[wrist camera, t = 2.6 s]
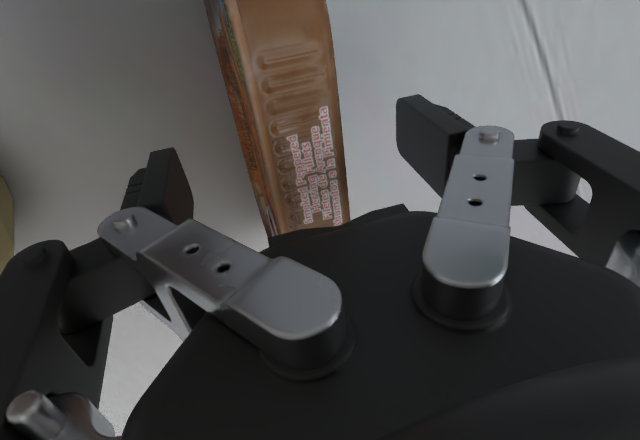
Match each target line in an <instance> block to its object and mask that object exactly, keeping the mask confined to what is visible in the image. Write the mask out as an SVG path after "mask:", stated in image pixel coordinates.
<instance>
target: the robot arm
mask: <svg viewBox="0 0 640 440" xmlns="http://www.w3.org/2000/svg"><path fill="white" fill-rule="evenodd" d="M396 141H397V147H398V150H399V153H400V154H401V156H402V157H403V158H404V159H405V160H406V161H407V162H408V163H409V164H410V165H411V166H412V167H413V168H414V170H415V171H416V172H417V173H418V174H419V175H420V176H421V177H422V178H423V179H424V180H425V181H426V182H427V183H428V184H429V185H430V186H431V187H432V189H433V190H434V191H435V192H436V193H437V194H438V195H439V196H440V197H441V198H442V200H441V203H440V207H439V210H438V213H434V212H425V211H410V212H409V211H408V209H407V208H406V207H405V205H404V204H399V205H395V206H391V207H387V208H383V209H379V210H375V211H371V212H369V213H367V214H364V215H362V216H360V217H358V218H356V219H353V220H351V221H349V222H347V223H344V224H342V225H339V226H331V227H319V228H308V229H300V230H296V231H292V232H288V233H284V234H280V235H276V236H272V237H268V243H269V248H267V249H265V250H263V251H261V252H257V251H255V250H253V249H251V248H249V247H247V246H245V245H243V244H241V243H239V242H237V241H235V240H233V239H231V238H229V237H227V236H225V235H223V234H221V233H219V232H217V231H215V230H213V229H211V228H209V227H207V226H205V225H203V224H201V223H199V222H197V221H195V220H193V210H194V201H193V196H192V192H191V189H190V186H189V183H188V181H187V178H186V175H185V173H184V170H183V168H182V165H181V162H180V160H179V157H178V155H177V152H176V150H175V149H174V148H173V147H171V148H167V149H162V150H158V151H153V152H151V153H150V156H149V160H148V164H147V168H142V169H139V170H138V171H137V172H136V173H135V174H134V175H133V176H132V177H131V178H130V180H129V184H128V188H127V190H126V193H125V194H126V195H125V196H124V199H123V203H122V206H121V209H120V211H118V212H116V213H114V214H112V215H110V216H109V217H107V218H106V219H105V220H104V221H102V223H101V224H100V225H99V227H98V234H99V236H100V237H99V238H98V239H96V240H94V241H92V242H89V243H87V244H85V245H82V246H80V247H77V248H75V249H73V250H70V251H69V250H68V248H67V247H66V245H65V244H64V243H63V242H62V241H60V240H47V241H43V242H39V243H36V244H34V245H32V246H29V247H27V248H25V249H24V250H22V251H20V252H19V253H17V254H16V255H15V256H14V257H13V258H11V259H10V261H9V262H8V263H7V264H6V266H5V268H4V270H3V272H2V273H1V275H0V440H640V152H639V151H637V150H635V149H633V148H631V147H629V146H627V145H625V144H623V143H621V142H619V141H617V140H615V139H614V138H612V137H610V136H608V135H606V134H604V133H602V132H600V131H598V130H596V129H594V128H592V127H590V126H588V125H586V124H583V123H580V122H575V121H552V122H548V123H546V124H544V125H543V126H542V127H541V131H540V135H539V139H526V140H514V134H513V133H512V132H511V131H510V130H508V129H505V128H502V127H497V126H479V127H475V126H474V125H472V124H471V123H469V122H467V121H466V120H464V119H463V118H462V119H461V117H460V116H458V115H457V114H455V113H454V112H452V111H451V110H449V109H448V108H446V107H443V106H439V105H436V104H433V103H431V102H430V101H428V100H427V99H425V98H424V97H422V96H421V95H419V94H417V95H413V96H408V97H403V98H399V99H398V100H397V104H396ZM581 177H582V178H583V179H585V180H586V181H587V182H588V183H589V184H590V186H591V188H592V199H591V202H590V204H589V203H588V202H586V201H585V200H583V199H582V198H581V197H579V196H578V195H577V194H575V193H576V190H577V187H578V184H579V181H580V178H581ZM517 205H524V207H525V208H526V209H527V210H528V211H529V212H530V213H531V214H532V215H533V216H534V217H535V218H536V219H537V220H539V221H540V222H541V223H542V224H543V225H544V226H545V227H546V228H547V229H548V230H550V231H551V232H552V233H553V234H554V235H555V236H556V237H557V238H558V239H559V240H560V241H562V242H563V243H564V244H565V245H566V246H567V247H568V248H569V249H570V250H571V251H573V252H574V253H575V254H576V255H577V256H578V257H579V258H577V257H574V256H571V255H568V254H565V253H562V252H559V251H556V250H552V249H549V248H546V247H543V246H540V245H537V244H534V243H531V242H528V241H525V240H521V239H518V238H515V237H512V236H510V227H509V221H510V209H511V206H517ZM137 302H140V304H141V305H142V306H143V307H145V308H146V309H147V310H148V311H149V312H151V313H152V314H153V315H154V316H156V317H157V318H158V319H159V320H160V321H162V322H163V323H164V324H165V325H167V326H168V327H169V328H170V329H171V330H173V331H174V332H175V333H176V334H177V335H178V336H179V337H180V338H181V339H182V341H183V343H182V344H181V346H180V347H179V348H178V349H177V351H176V352H175V353H174V355H173V356H172V357H171V359H170V360H169V361H168V363H167V364H166V365H165V367H164V368H163V369H162V371H161V372H160V373H159V374H158V376H157V377H156V378H155V380H154V381H153V382H152V384H151V385H150V386H149V388H148V389H147V390H146V392H145V393H144V394H143V396H142V397H141V398H140V400H139V401H138V403H137V404H136V406H135V407H134V409H133V411H132V413H131V415H130V416H129V418H128V420H127V423H126V425H125V428H124V430H123V433H122V436H117V437H115V431H114V428H113V426H112V424H111V423H110V422H109V421H108V420H107V419H106V418H105V417H104V416H103V415H102V414H101V413H100V411H99V410H98V408H99V402H100V396H101V390H102V383H103V377H104V371H105V365H106V359H107V353H108V346H109V340H110V334H111V328H112V322H113V314H115V313H117V312H119V311H121V310H123V309H125V308H127V307H129V306H131V305H133V304H135V303H137Z"/></svg>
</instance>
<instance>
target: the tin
mask: <svg viewBox="0 0 640 440" xmlns="http://www.w3.org/2000/svg"><path fill="white" fill-rule="evenodd" d="M204 3H205V6H206V11H207V15H208V19H209V23H210V28H211V31H212V35H213V39H214V43H215V47H216V50H217V54H218V58H219V62H220V66H221V70H222V73H223V77H224V81H225V85H226V89H227V92H228V96H229V100H230V104H231V108H232V111H233V116H234V119H235V123H236V127H237V131H238V135H239V139H240V143H241V146H242V150H243V154H244V158H245V162H246V165H247V169H248V173H249V176H250V180H251V184H252V187H253V190H254V193H255V197H256V201H257V204H258V208H259V211H260V214H261V218H262V221H263V224H264V227H265V230H266V233H267V236H268V237H272V236H276V235H280V234H284V233H288V232H292V231H296V230H300V229H308V228H319V227H331V226H339V225H342V224H344V223H347V222H349V221H350V211H349V200H348V188H347V178H346V167H345V157H344V146H343V136H342V126H341V116H340V107H339V96H338V87H337V77H336V68H335V58H334V49H333V41H332V34H331V27H330V20H329V15H328V10H327V5H326V0H204Z"/></svg>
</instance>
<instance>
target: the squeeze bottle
mask: <svg viewBox="0 0 640 440" xmlns="http://www.w3.org/2000/svg"><path fill="white" fill-rule="evenodd" d="M13 257H14V200H13V198H12V196H11V194H10V192H9V190H8V188H7V186H6V183H5V181H4V179H3V178H2V177H1V176H0V275H1V273H2V272H3V270H4V268H5V266H6V264H7V263H8V262H9V261H10V259H11V258H13Z"/></svg>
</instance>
